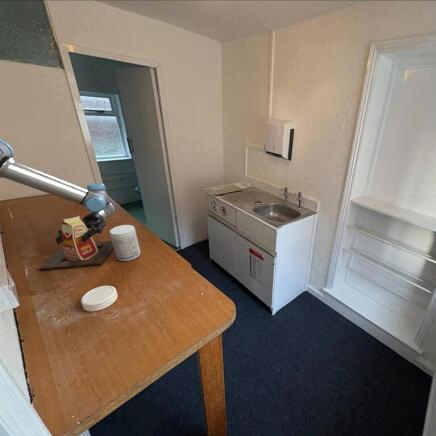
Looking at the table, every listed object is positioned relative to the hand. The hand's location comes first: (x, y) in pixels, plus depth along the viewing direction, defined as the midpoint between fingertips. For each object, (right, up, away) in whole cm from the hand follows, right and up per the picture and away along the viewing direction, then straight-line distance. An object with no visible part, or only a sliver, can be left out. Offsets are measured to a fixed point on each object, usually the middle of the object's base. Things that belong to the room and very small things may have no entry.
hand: (70, 240), depth 101 cm
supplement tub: (+18, -9, +11) cm, 23 cm away
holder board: (-2, -8, +9) cm, 12 cm away
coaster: (+26, -21, -16) cm, 37 cm away
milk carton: (-2, -8, +9) cm, 12 cm away
